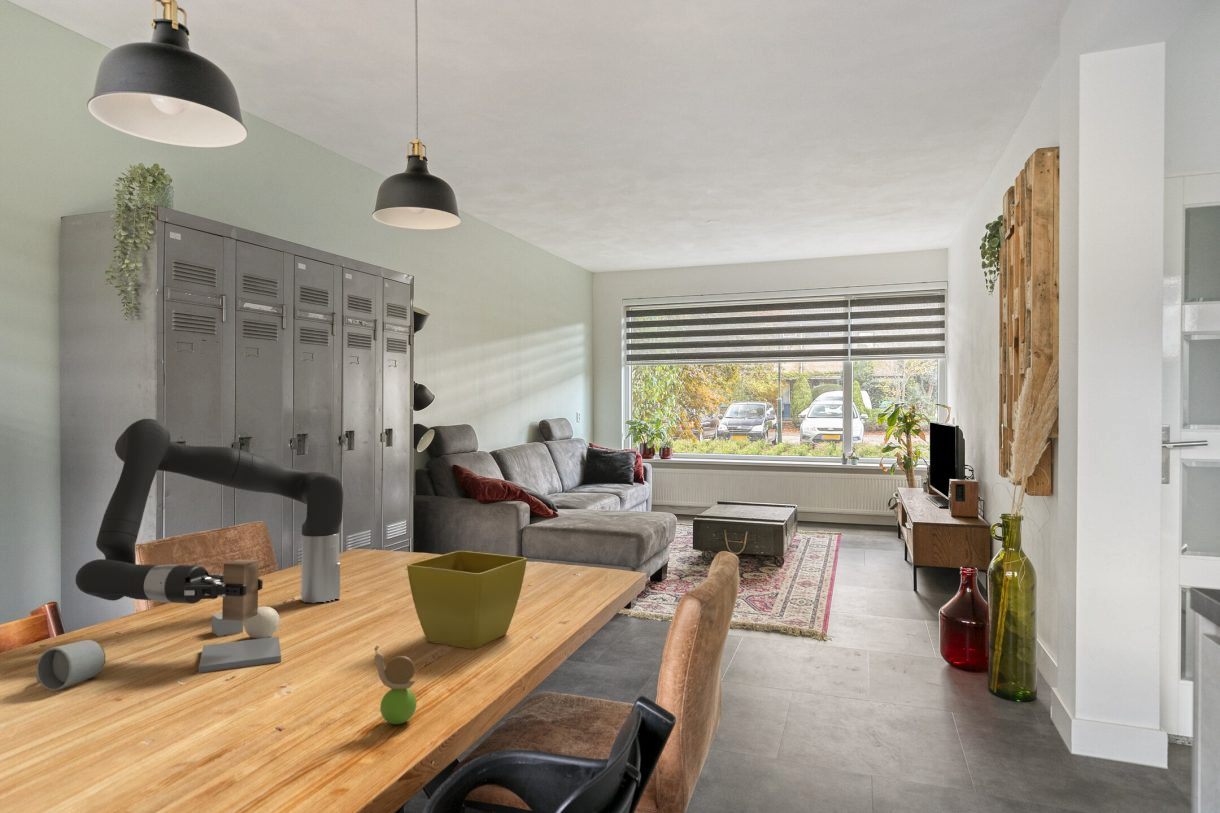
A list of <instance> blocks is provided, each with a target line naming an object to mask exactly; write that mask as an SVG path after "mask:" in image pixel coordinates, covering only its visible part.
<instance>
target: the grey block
mask: <svg viewBox="0 0 1220 813" xmlns="http://www.w3.org/2000/svg"><path fill="white" fill-rule="evenodd" d="M212 632H213V633H212ZM239 632H242V633H244V621H239V620H223V619H222V612H220V613H215V614H211V633H212V634H214V633H215V634H216V635H217V637H218V638H219V636H221V637H225V636H224V635H226V636H230V634H232V635H235V634H236V633H237V634H240V633H239ZM215 634H214V635H215ZM216 635H215V636H216Z"/></svg>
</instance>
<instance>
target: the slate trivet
mask: <svg viewBox="0 0 1220 813" xmlns="http://www.w3.org/2000/svg"><path fill="white" fill-rule="evenodd" d="M280 644H281V642H280V637H279V636H270V637H267V638H261V639H255V638H253V639H247V640H239V641H228V642H221V643H212V644H204V645H203V646H202V651H201V655H200V660H199V664H198V673H199V674H201V673H208V672H216V671H223V670H230V669H238V668H246V667H252V666H253V667H254V666H260V665H268V664H274V663H281V662H282V652H281V646H280Z"/></svg>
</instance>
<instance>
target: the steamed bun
mask: <svg viewBox="0 0 1220 813" xmlns="http://www.w3.org/2000/svg"><path fill="white" fill-rule="evenodd" d="M280 619H281V618H280V615H279V613H278V611H276V609H274V608H273V607H271V606H258V615H256V616H253V617H251V618H248V619H246V620H244V621H243V629H244V631H245V633H246V634H247V635H248V636H249V637H250V638H253V639H261V638H269V637H273V635H274V634H275V633H276V632H277V630H278V628H279V627H280Z"/></svg>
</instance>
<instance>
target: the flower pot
mask: <svg viewBox="0 0 1220 813" xmlns="http://www.w3.org/2000/svg"><path fill="white" fill-rule="evenodd" d="M406 567H407V574H408V576H407V577H408V581H409V582H408V583H409V586H410V592H411V596H412V601H413V604H414V608H415V610H416V611H415V612H416V614H417V618H418V620H419V623H420V626H421V628H422V631H423V632H422V633H423V634H424V636H425V639H426V641H427V642H431V643H437V644H440V645H448V646H453V647H456V648H457V647H459V648H462V649H463V648H464V649H469V650H476V649H479V648H481V647H482V646H485V645H486V644H489V643H491V642H493V641H494V640H497V639H499V638H501V637H502V636H505V635H506V634H507V633H508V630H509V628H510V627H511V626H510V625H511V622H512V619H513V618H514V614H515V611H516V609H517V605H518V602H519V599H520V595H521V590H522V587H523V584H524V583H523V582H524V578H525V573H526V568H527V557H523V556H515V555H514V556H513V555H507V554H505V555H504V554H495V553H487V552H477V551H468V550H456V551H453V552H448V553H444V554H441V555H438V556H434V557H430V558H426V559H422V560H418V561H415V562H411V563H408V564H407V565H406Z"/></svg>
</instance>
